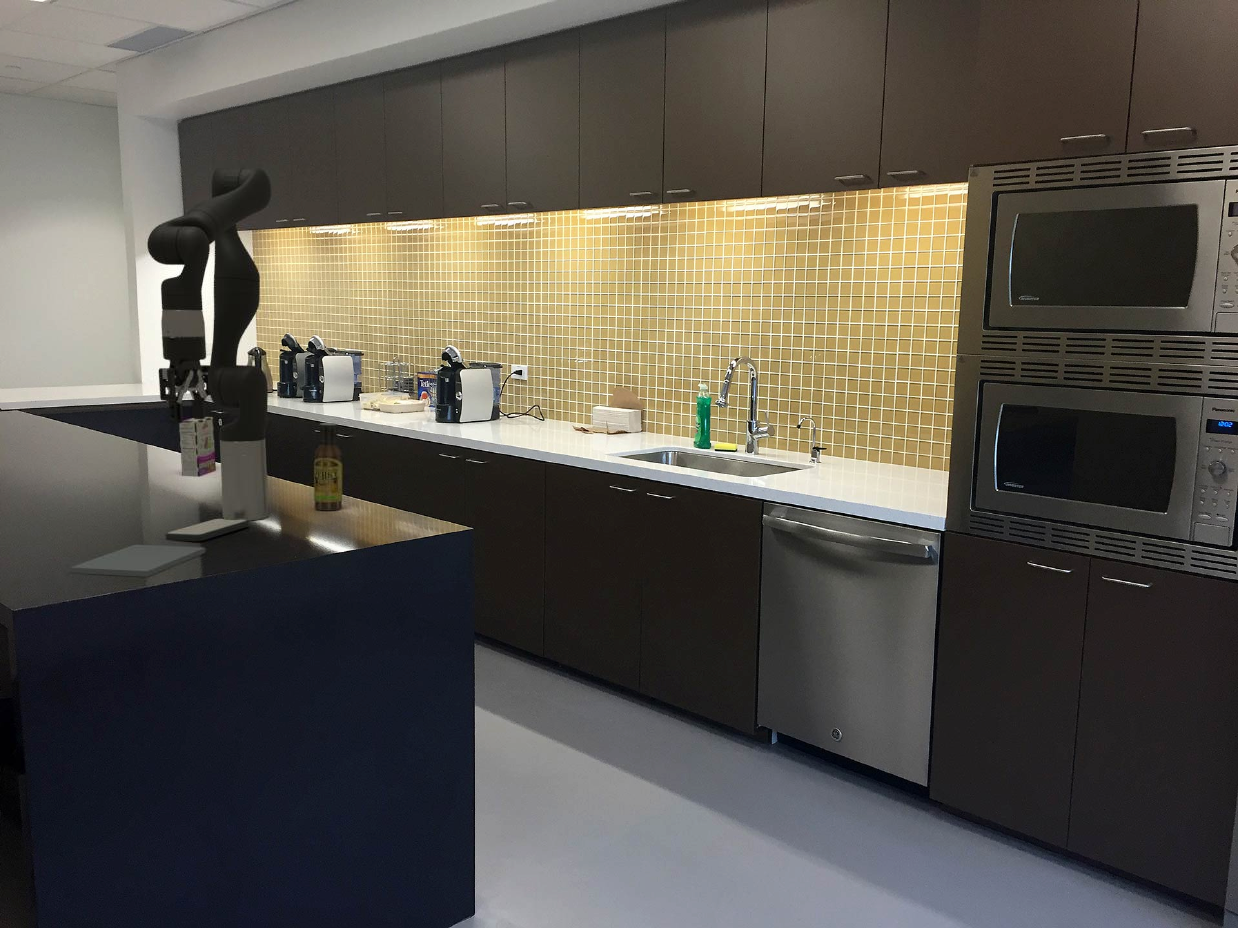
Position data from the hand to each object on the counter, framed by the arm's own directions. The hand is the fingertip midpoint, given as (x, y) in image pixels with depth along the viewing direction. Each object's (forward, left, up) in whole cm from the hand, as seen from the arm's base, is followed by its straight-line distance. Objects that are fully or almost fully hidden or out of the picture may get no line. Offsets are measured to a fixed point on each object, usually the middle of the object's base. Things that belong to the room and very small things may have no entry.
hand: (188, 421), depth 188 cm
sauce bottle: (-38, +11, -24) cm, 46 cm away
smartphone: (0, -3, -23) cm, 23 cm away
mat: (+17, 0, -24) cm, 29 cm away
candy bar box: (-74, -42, -24) cm, 88 cm away
